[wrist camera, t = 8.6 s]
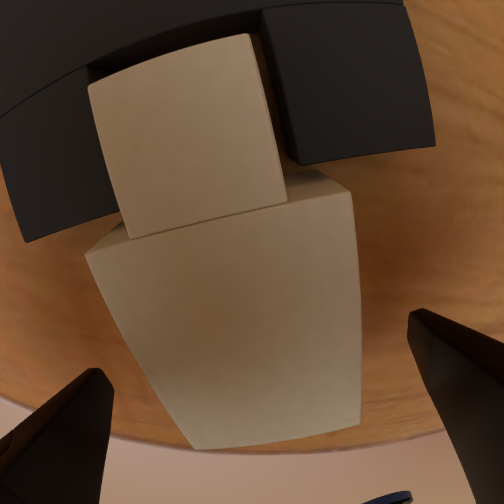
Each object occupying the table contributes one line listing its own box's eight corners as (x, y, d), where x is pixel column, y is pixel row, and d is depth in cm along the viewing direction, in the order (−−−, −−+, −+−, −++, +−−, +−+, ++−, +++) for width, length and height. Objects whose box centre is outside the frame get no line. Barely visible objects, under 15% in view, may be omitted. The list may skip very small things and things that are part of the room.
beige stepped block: (340, 365, 12) (360, 424, 9) (202, 390, 12) (194, 450, 9) (292, 56, 7) (315, 22, 4) (99, 111, 8) (39, 110, 5)
